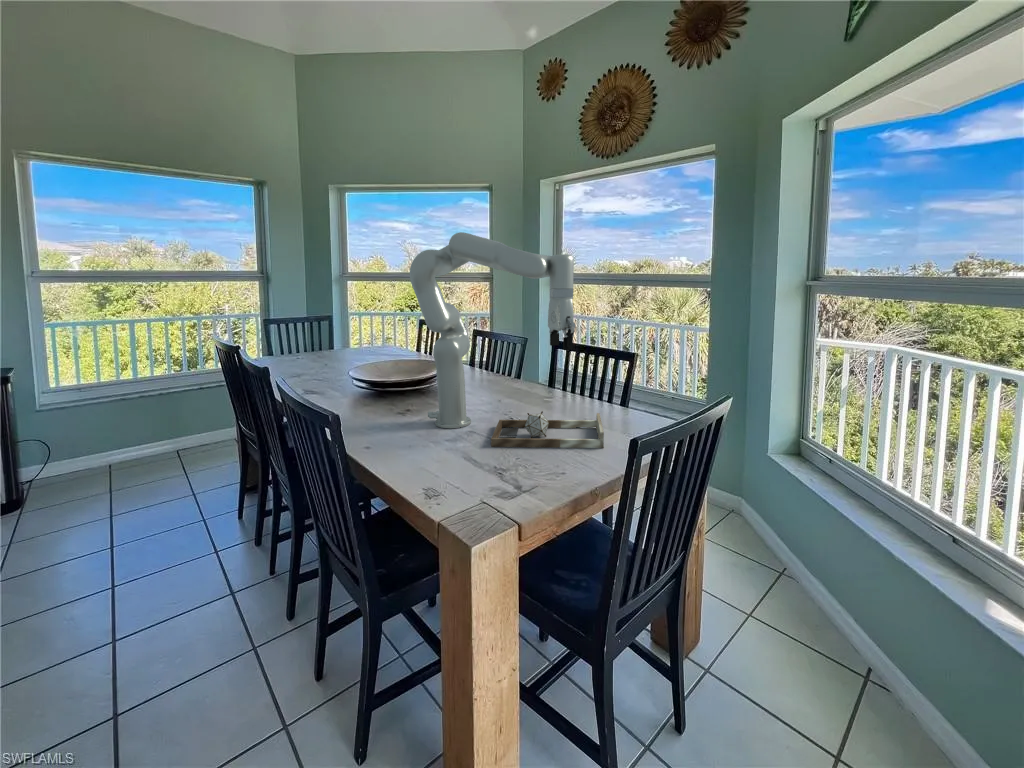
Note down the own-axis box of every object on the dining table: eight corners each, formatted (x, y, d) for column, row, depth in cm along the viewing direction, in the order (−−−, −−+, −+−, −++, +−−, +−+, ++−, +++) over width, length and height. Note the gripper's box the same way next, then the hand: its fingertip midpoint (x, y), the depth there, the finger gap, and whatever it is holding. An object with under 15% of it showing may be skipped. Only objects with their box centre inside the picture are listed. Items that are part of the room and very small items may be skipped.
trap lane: (491, 446, 154) (490, 431, 153) (499, 426, 173) (499, 412, 172) (603, 448, 150) (603, 432, 149) (599, 427, 170) (599, 413, 168)
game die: (541, 449, 162) (548, 431, 154) (517, 439, 162) (523, 420, 155) (549, 428, 167) (556, 410, 160) (526, 419, 168) (532, 400, 161)
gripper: (539, 293, 167) (539, 344, 171) (563, 296, 151) (562, 352, 155) (560, 292, 169) (559, 343, 173) (585, 295, 154) (584, 350, 158)
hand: (561, 347), depth 164 cm, fingers open, 9 cm apart
